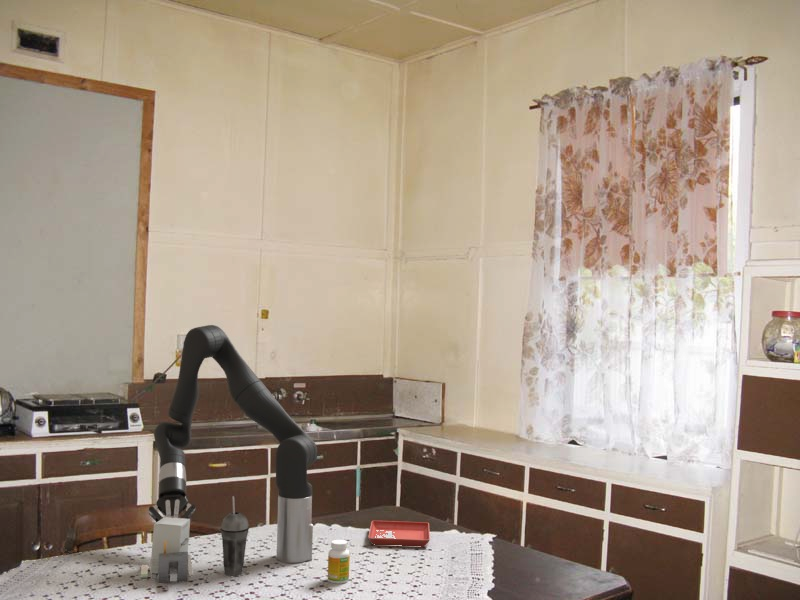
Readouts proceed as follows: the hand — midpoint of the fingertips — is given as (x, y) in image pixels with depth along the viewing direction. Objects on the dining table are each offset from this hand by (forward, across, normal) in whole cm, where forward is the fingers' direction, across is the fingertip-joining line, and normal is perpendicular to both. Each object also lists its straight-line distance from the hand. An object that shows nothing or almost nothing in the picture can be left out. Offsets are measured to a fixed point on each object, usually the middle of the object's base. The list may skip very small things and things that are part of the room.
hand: (171, 538), depth 206 cm
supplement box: (+10, -1, -2) cm, 10 cm away
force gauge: (+9, -1, -1) cm, 9 cm away
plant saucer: (0, +66, +9) cm, 67 cm away
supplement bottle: (+22, +40, -13) cm, 48 cm away
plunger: (+16, 0, -9) cm, 18 cm away
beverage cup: (+14, +15, -6) cm, 21 cm away
